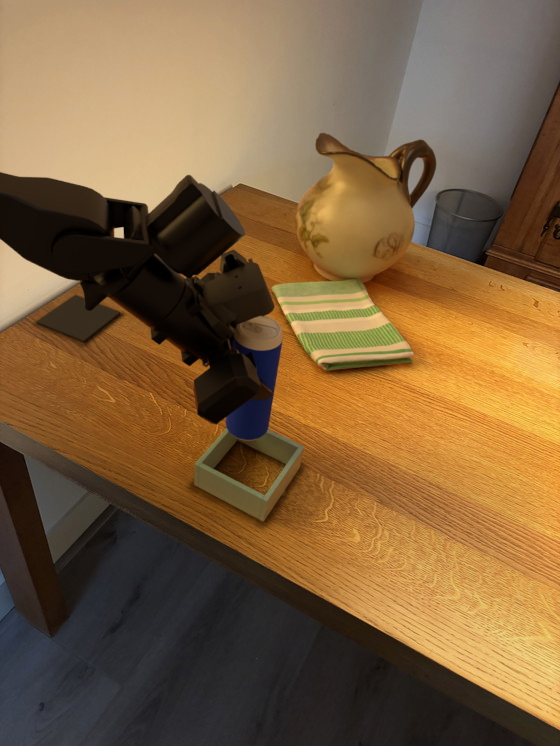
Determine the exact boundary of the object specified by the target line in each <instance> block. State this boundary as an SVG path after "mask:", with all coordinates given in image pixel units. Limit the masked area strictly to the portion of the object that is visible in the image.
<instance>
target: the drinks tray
mask: <svg viewBox="0 0 560 746" xmlns="http://www.w3.org/2000/svg"><path fill="white" fill-rule="evenodd" d="M237 441H238V442H240V443H242V444H244V445H246V446H248V447H250V448H252V449H255V450H256V451H258V452H260V453H262V454H264V455H266V456H268V457H270V458H273V459H275V460H277V461H279V462H281V463H283V464H285V466H284V467H283V469H282V470H281V471H280V473H279V474H278V476H277V478H276V479H275V480H274V482H273V483H272V484H271V486H270V487H269V488H268V490H267V491H266V493H265V494H263V493H261V492H259V491H258V490H256V489H253V488H251V487H249V486H247V485H246V484H244V483H241V482H240V481H238V480H235V479H234V478H232V477H230V476H228V475H226V474H224V473H222V472H220V471H218V470H217V469H215V468H216V467H217V465H218V464H219V463H220V462H221V460H222V459H223V458H224V457H225V456H226V454H227V453H228V452H229V451H230V450H231V449H232V447H233V446H234V445H235V444H236V442H237ZM304 450H305V446H304V445H302V444H300V443H298V442H296V441H293V440H291V439H289V438H287V437H285V436H283V435H281V434H279V433H277V432H275V431H272V430H270V429H268V430H267V432H266V433H265V434H264V435H263V436H262V437H260V438H258V439H256V440H252V441H244V440H240V439H237V438H236V437H234V436H233V435H232V434H231V433H230V432H229V431H228V429H227V427H226V428H225V429H224V430H223V431H222V432H221V433H220V434H219V436H218V437H217V438H216V439H215V440H214V441H213V442H212V444H210V446H209V447H208V448H207V449H206V450H205V452H204V453H203V454H202V455H201V456H200V457H199V458H198V459H197V461H196V462H195V463H194V478H193V479H194V480H193V481H194V483H193V484H194V486H195V487H197V488H199V489H201V490H203V491H204V492H206V493H208V494H210V495H212V496H214V497H215V498H217V499H219V500H221V501H223V502H225V503H227V504H229V505H231V506H233V507H234V508H237V509H239V510H240V511H242V512H244V513H246V514H248V515H249V516H251V517H253V518H255V519H257V520H259V521H261V522H263V523H264V522H265V520H266V519H267V518H268V516H269V514H270V513H271V511H272V510H273V509H274V507H275V505H276V504H277V503H278V501H279V499H280V498H281V497H282V495H283V494H284V492H285V491H286V489H287V487H288V486H289V485H290V483H291V481H292V480H293V478H294V477H295V475H296V474H297V472H298V471H299V469H300V468H301V465H302V459H303V455H304Z"/></svg>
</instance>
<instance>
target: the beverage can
mask: <svg viewBox="0 0 560 746" xmlns="http://www.w3.org/2000/svg"><path fill="white" fill-rule="evenodd" d="M234 331H235V335H234V336H233V347H232V349H236V350H238V352H239V353H242V354H244V355H245V356H246V355H247V354H248V353H250V352H251V351H252V353H253V356H254V360H255V363H256V366H257V375H258V376H259V377H260V378H261V379H262V380H263V382H264V383H265V384H266V385H267V386H268V387H269V389H270V390H271V391H272V393H273V396H272V397H270V398H269V399H268V400H253V399H250V400H249V401H247V402H246V403H245V404H243V405H242V406H241V407H239V408H238V409H237V410H235V411H234V412H232V413H231V414H230V415H228V416H227V417H226V418H225V427H226V428H227V429H228V431H229V432H230V433H231V434H232V435H233V436H234V437H236V438H237V439H240V440H244V441H252V440H256V439H258V438H260V437H262V436H263V435H264V434H265V433H266V432H267V430H269V427H270V420H271V414H272V409H273V402H274V395H275V389H276V382H277V377H278V371H279V365H280V360H281V359H280V358H281V354H282V353H281V352H282V346H283V342H284V341H283V340H284V334H283V330H282V326H281V325H280V323H279V322H278V321H277V320H276V319H274V318H273V317H270V316H268V315H265V316H258V317H256V318H253V319H251V320H248V321H246V322H243V323H241V324H238V325H237V326H236V328H235V330H234Z"/></svg>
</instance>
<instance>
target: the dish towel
mask: <svg viewBox="0 0 560 746" xmlns="http://www.w3.org/2000/svg"><path fill="white" fill-rule="evenodd" d="M271 291H272V293H273V295H274V296H275V298H276V300H277V302H278V304H279V307H280V308H281V310H282V312H283V315H284V316H285V318H286V320H287V321H288V323H289V325H290V326H291V329H292V331H293V333H294V335H295V336H296V339H297V340H298V342H299V344H300V345H301V346H302V348H303V351H305V353H306V354H307V355H308V356H309V357H310V359H312V361H313V362H314V363H315V364H316V366H318V367H319V368H321V370H324V371H326V372H329V371H335V370H336V371H337V370H345V369H357V368H367V367H377V366H378V367H379V366H389V365H399V364H410V363H413V362H414V361H413V359H412V358H414V355H415V353H414V351H413V350H412V348H411V346H410V344H409V343H408V342H407V340H406V339H405V337H403V336H402V334H401V332H400V331H399V330H398V329H397V328H396V327H395V325H394V324H393V323H392V322H391V321H390V320H389V319H388V318H387V317H386V316H385V315H384V314H383V312H382V310H381V309H380V308H379V307H378V306H377V305H376V304H375V303H374V302H373V300H372V299H371V297H370V295H369V293H368V289H367V288H366V285H365V283H362V281H361V280H360V279H359V278H352V279H347V280H343V281H330V280H322V281H321V280H320V281H302V282H285V283H284V282H283V283H278V284H275V285H273V286H272V287H271Z"/></svg>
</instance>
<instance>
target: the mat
mask: <svg viewBox="0 0 560 746" xmlns="http://www.w3.org/2000/svg"><path fill="white" fill-rule="evenodd" d="M120 315H121V311H118V310H116V309H113V308H110V307H108V306H105V305H103V304H101V303H100V304H99V305H97V306H96V307H95V308H94V309H93V310H91V311H88V310H86V309H85V299H84V297H82V296H80V295H77V294H74V295H73V296H72V297H70V298H68V299H67V300H66V301H64V302H63V303H61V304H60V305H59V306H56V307H55V308H54V309H53V310H51V311H50V312H48V313H47V314H45V315H44V316H43V317H41V318H39V319H38V320H36V324H37V325H40V326H43V327H45V328H47V329H49V330H53V331H55V332H57V333H60V334H62V335H64V336H67V337H70V338H71V339H75V340H77V341H80V342H82V343H86V342H87V341H88V340H89V339H90V338H92V337H93V336H94V335H96V334H97V333H98V332H100V331H101V330H102V329H103V328H104V327H106V326H107V325H108V324H110V323H111V322H112V321H113V320H115V319H116V318H117V317H118V316H120Z"/></svg>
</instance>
